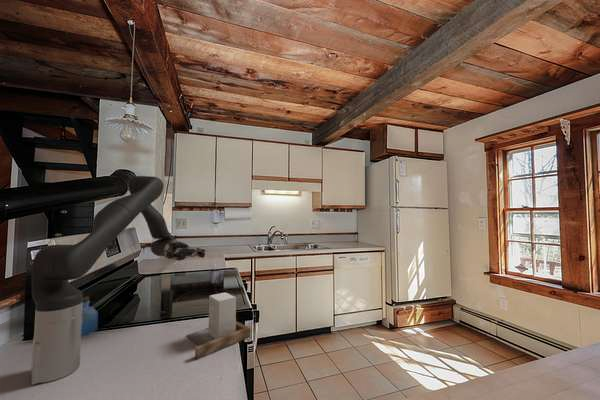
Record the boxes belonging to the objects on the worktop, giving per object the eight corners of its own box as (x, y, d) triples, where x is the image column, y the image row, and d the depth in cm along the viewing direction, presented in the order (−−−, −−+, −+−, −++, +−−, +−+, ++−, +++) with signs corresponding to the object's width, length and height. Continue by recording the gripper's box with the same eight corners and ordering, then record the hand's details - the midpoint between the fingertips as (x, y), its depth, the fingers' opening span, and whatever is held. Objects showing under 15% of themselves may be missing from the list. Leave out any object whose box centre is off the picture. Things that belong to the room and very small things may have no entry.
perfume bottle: (65, 335, 88) (67, 300, 88) (85, 328, 94) (87, 294, 94) (77, 338, 86) (79, 302, 86) (97, 330, 92) (98, 296, 92)
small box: (236, 336, 87) (236, 297, 88) (218, 342, 83) (218, 301, 83) (225, 328, 93) (225, 291, 94) (207, 333, 89) (208, 295, 89)
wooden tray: (197, 359, 74) (197, 348, 74) (174, 340, 85) (174, 331, 85) (250, 337, 87) (250, 328, 87) (224, 323, 98) (224, 315, 98)
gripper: (159, 242, 105) (174, 247, 94) (193, 240, 116) (211, 245, 104) (158, 260, 105) (172, 267, 94) (192, 257, 115) (209, 263, 104)
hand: (192, 255), depth 99 cm, fingers open, 8 cm apart
